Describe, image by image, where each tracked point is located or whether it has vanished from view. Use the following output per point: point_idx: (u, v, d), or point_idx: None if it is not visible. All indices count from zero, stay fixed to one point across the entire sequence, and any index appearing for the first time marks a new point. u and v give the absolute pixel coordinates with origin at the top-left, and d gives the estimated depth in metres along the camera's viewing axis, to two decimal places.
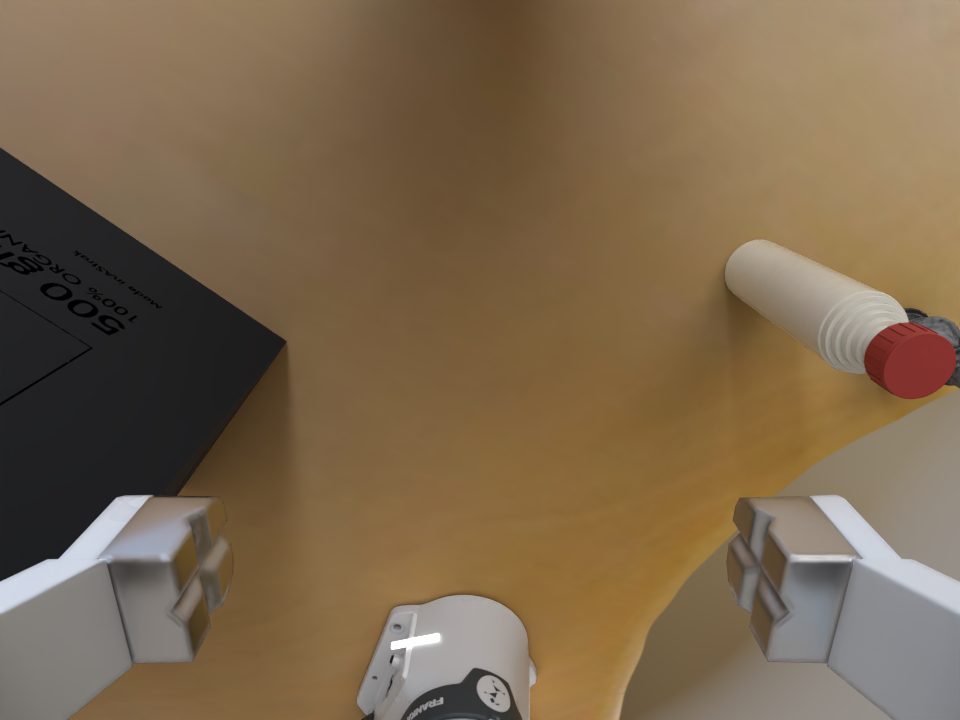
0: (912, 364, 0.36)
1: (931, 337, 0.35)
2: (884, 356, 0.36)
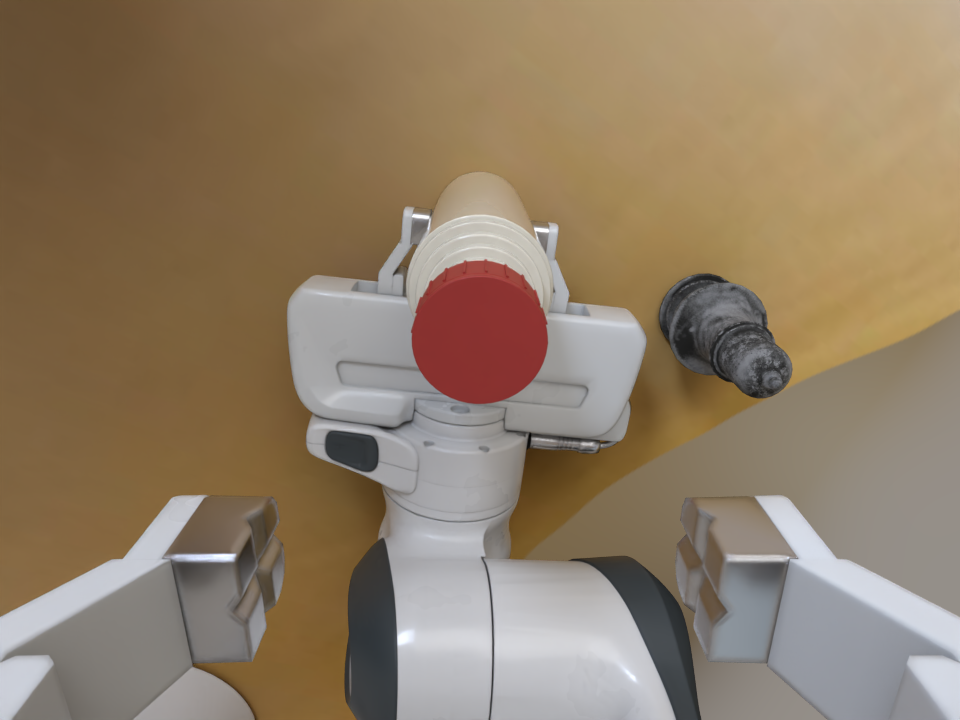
0: (464, 337, 0.19)
1: (487, 283, 0.18)
2: (414, 322, 0.19)
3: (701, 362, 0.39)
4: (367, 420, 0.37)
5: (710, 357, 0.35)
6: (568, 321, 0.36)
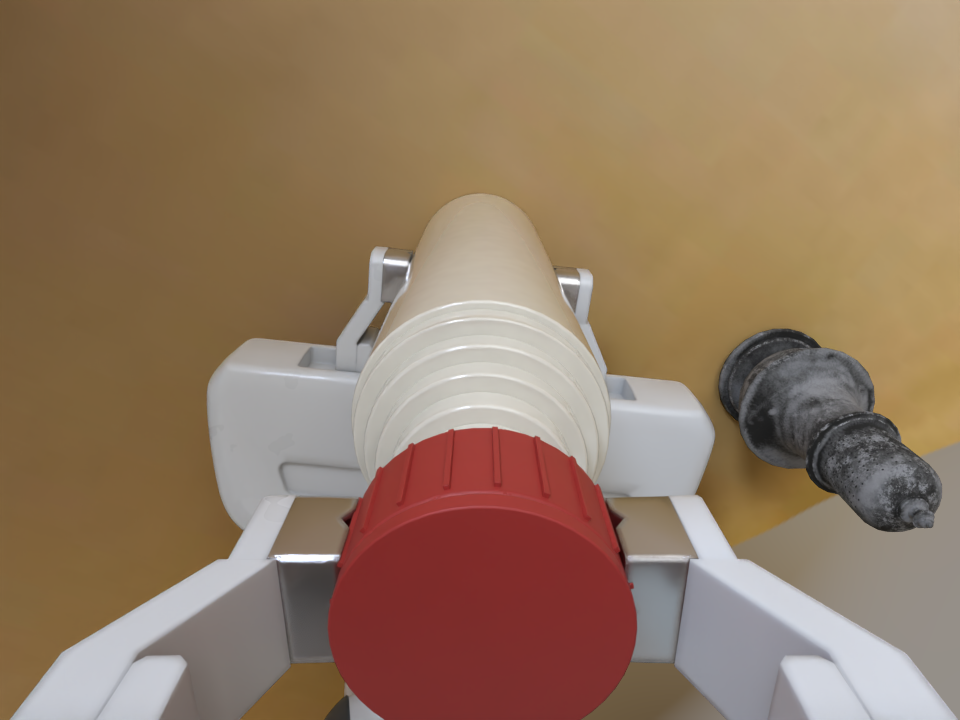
0: (447, 628, 0.08)
1: (500, 522, 0.08)
2: (336, 589, 0.08)
3: (782, 453, 0.29)
4: None
5: (807, 460, 0.25)
6: None
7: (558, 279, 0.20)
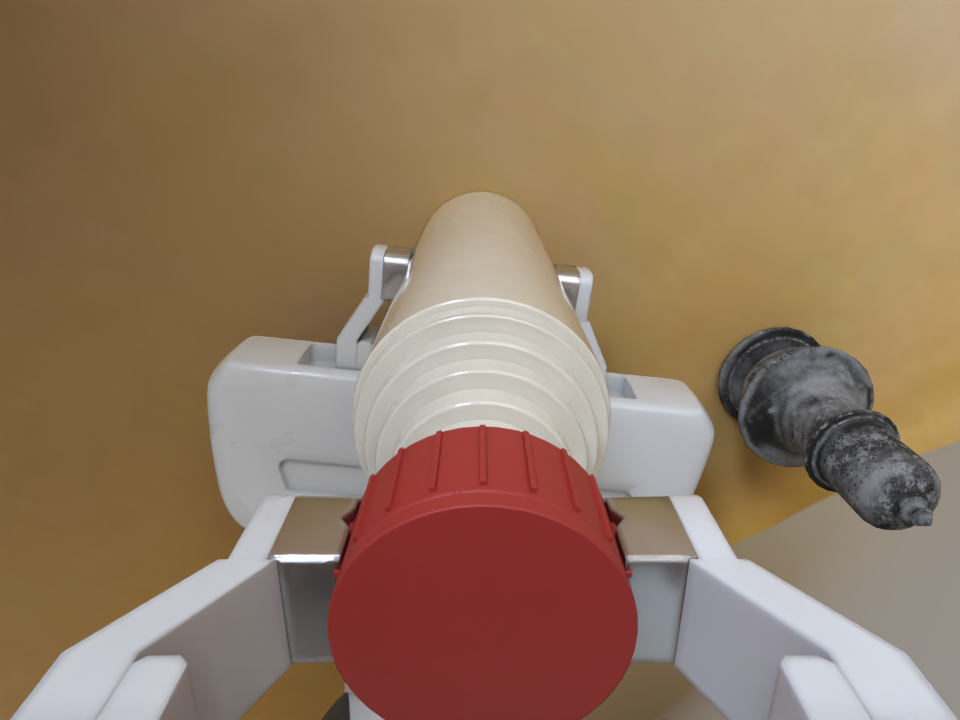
0: (473, 663, 0.08)
1: (343, 634, 0.08)
2: None
3: (782, 452, 0.29)
4: None
5: (807, 459, 0.25)
6: None
7: (558, 277, 0.20)
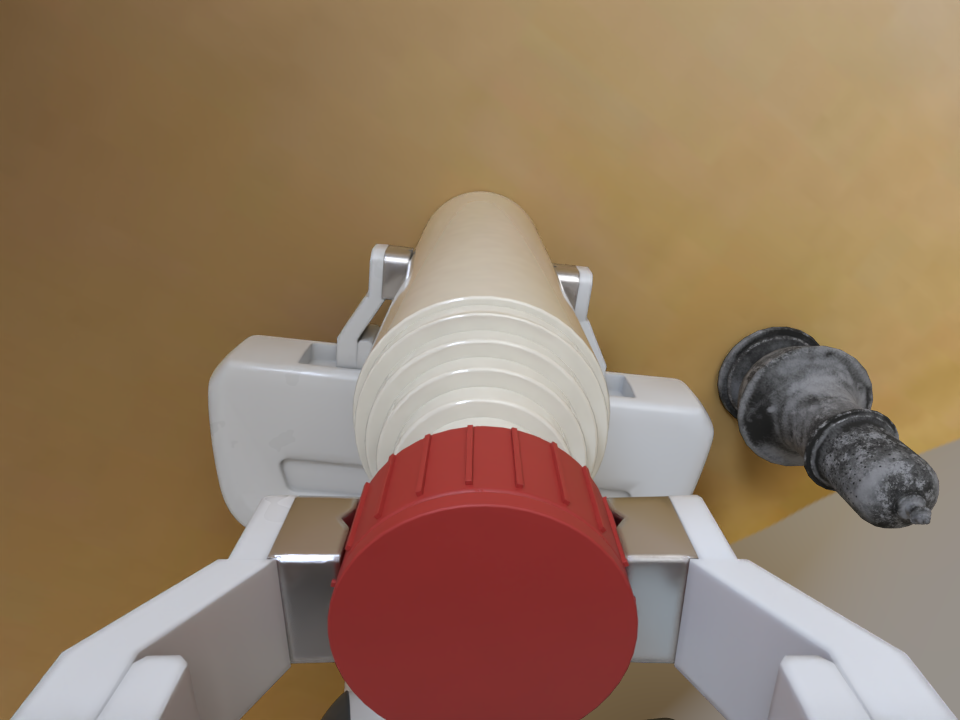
0: (518, 640, 0.08)
1: None
2: None
3: (781, 451, 0.29)
4: None
5: (806, 457, 0.25)
6: None
7: None
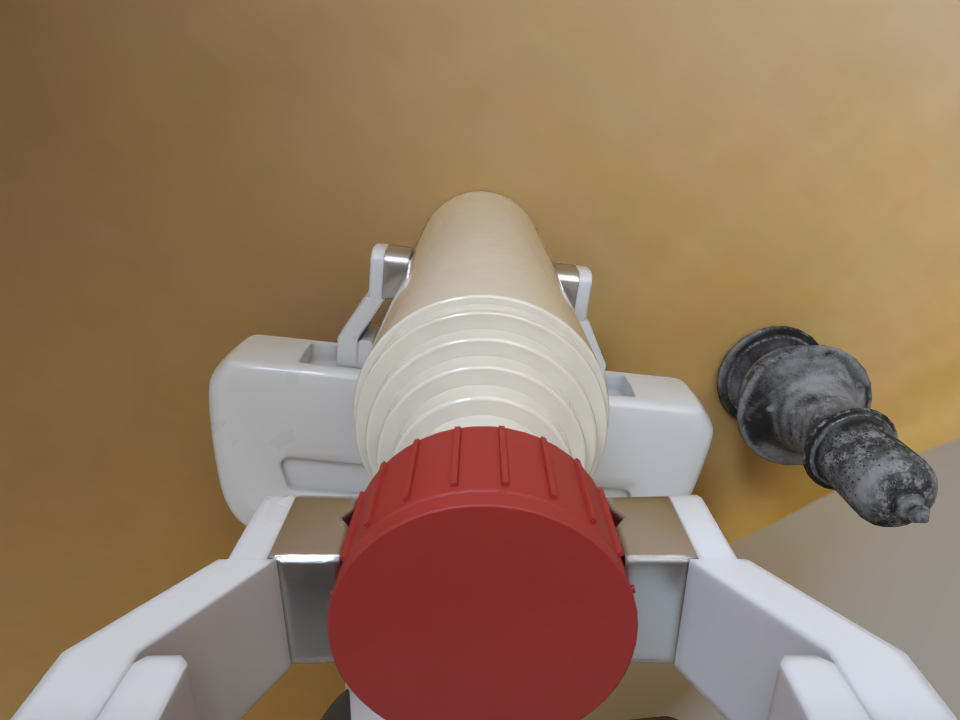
0: (485, 607, 0.08)
1: (621, 620, 0.08)
2: (480, 489, 0.08)
3: (780, 450, 0.29)
4: None
5: (805, 456, 0.25)
6: None
7: (557, 275, 0.20)
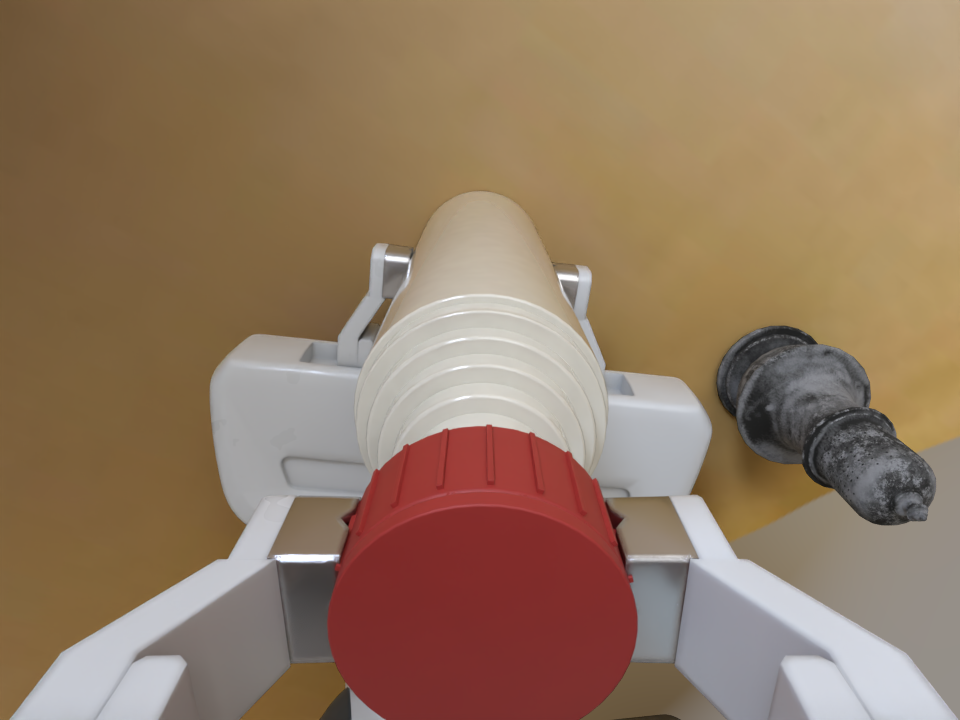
0: (446, 636, 0.08)
1: (447, 523, 0.08)
2: None
3: (779, 449, 0.29)
4: None
5: (804, 455, 0.25)
6: None
7: (557, 275, 0.20)
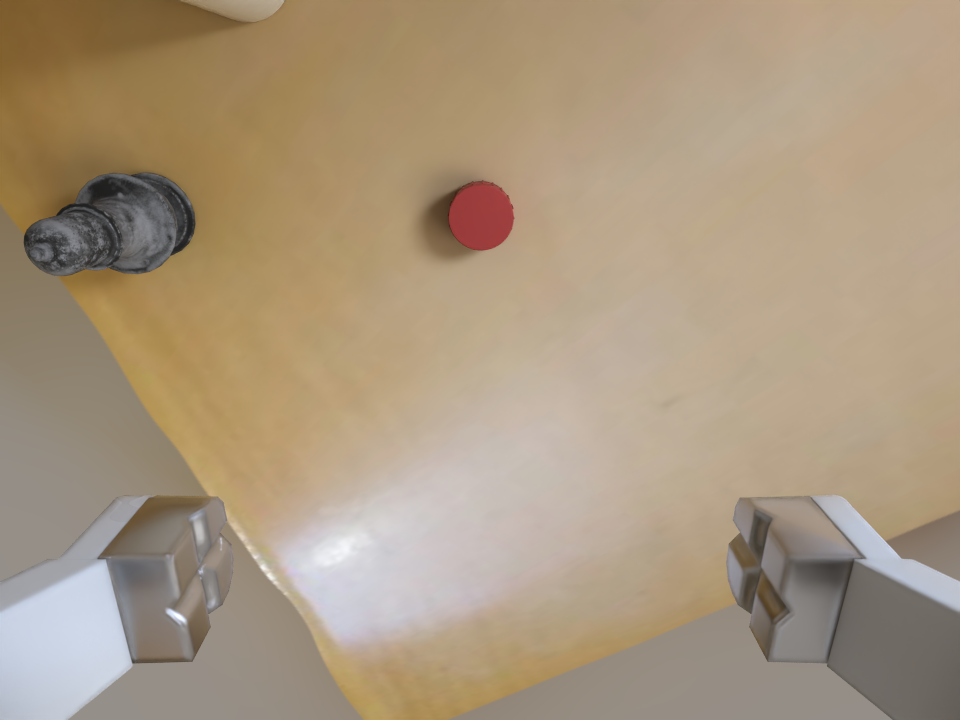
0: (473, 218, 0.39)
1: (474, 189, 0.39)
2: (449, 220, 0.40)
3: None
4: None
5: (77, 203, 0.34)
6: None
7: None
